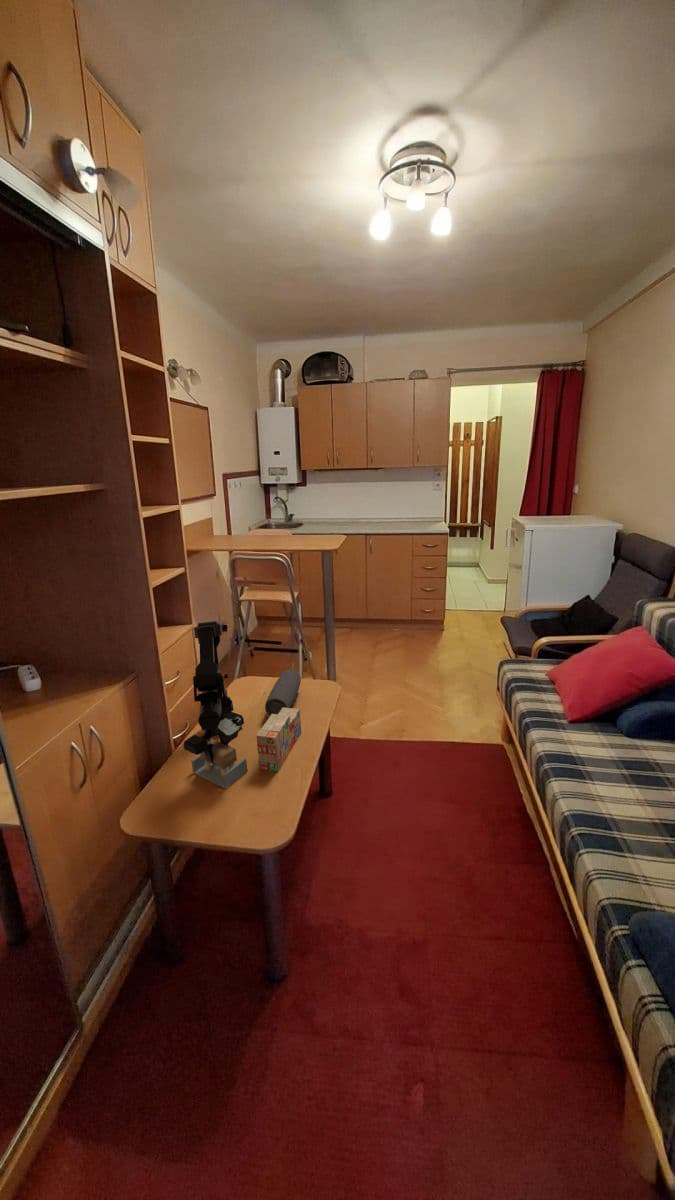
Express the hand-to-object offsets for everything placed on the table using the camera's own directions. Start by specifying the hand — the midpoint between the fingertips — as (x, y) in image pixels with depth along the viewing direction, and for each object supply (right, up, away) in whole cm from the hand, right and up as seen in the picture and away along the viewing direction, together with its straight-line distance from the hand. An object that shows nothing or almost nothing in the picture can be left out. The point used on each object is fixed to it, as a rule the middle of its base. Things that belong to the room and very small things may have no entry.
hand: (218, 756), depth 139 cm
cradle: (0, -5, +2) cm, 6 cm away
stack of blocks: (+18, -2, +11) cm, 21 cm away
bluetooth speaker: (+16, +7, +38) cm, 42 cm away
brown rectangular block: (0, -1, 0) cm, 1 cm away
